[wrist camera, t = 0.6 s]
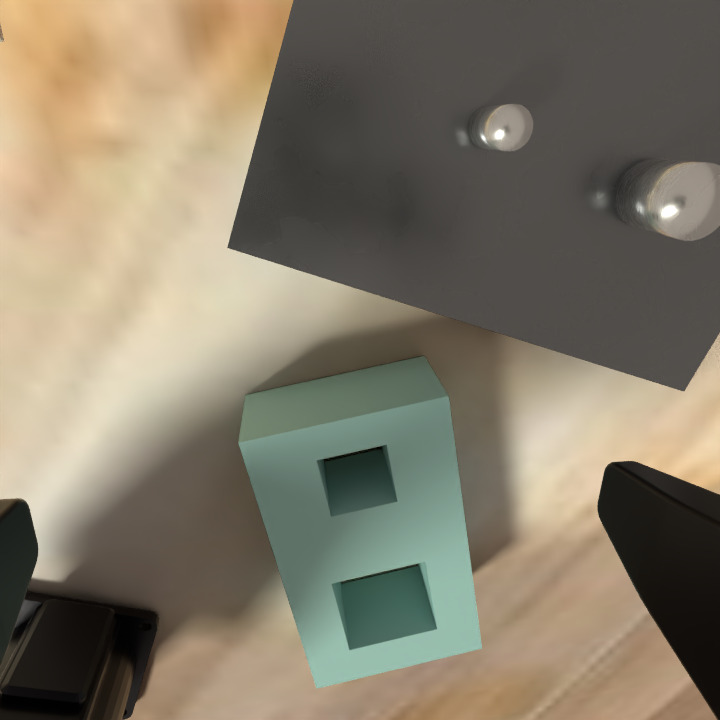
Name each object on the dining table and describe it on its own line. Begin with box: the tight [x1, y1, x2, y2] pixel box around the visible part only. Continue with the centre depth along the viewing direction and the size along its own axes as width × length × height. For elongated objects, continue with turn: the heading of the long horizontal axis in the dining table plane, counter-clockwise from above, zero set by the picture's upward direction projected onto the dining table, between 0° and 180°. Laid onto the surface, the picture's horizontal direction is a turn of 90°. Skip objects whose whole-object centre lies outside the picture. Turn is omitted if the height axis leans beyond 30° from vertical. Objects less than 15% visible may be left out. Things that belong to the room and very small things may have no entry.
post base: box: [227, 0, 720, 391], centre depth 17 cm, size 12×18×4 cm, turn 70°
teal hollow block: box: [238, 356, 482, 688], centre depth 22 cm, size 12×7×4 cm, turn 10°
